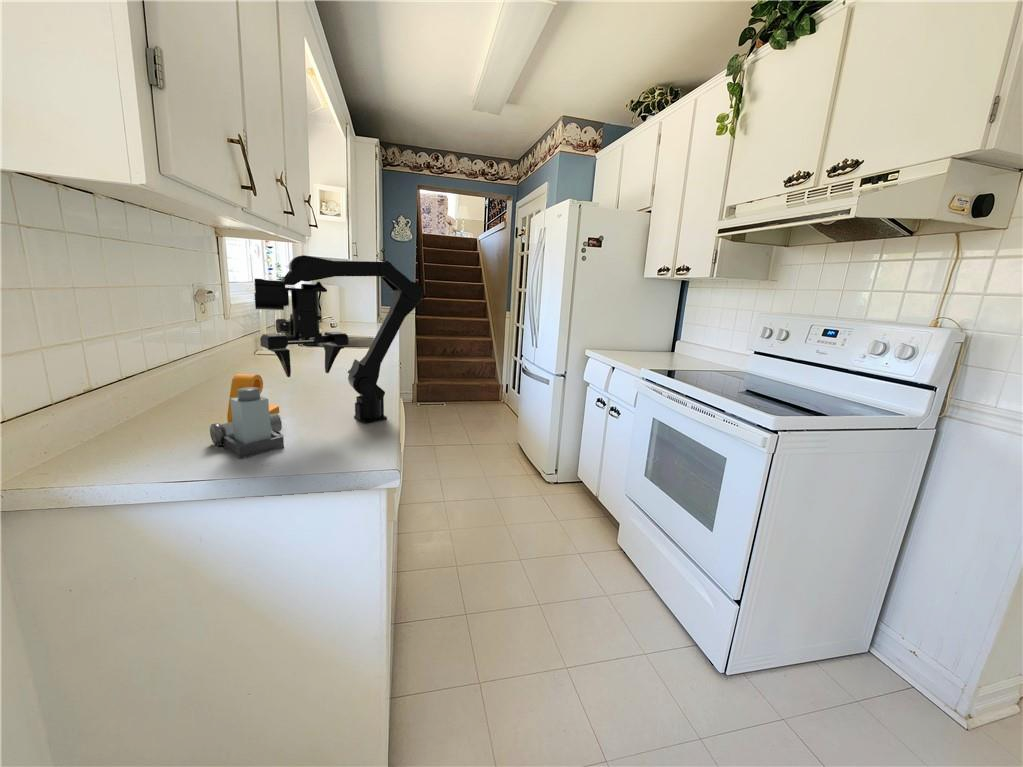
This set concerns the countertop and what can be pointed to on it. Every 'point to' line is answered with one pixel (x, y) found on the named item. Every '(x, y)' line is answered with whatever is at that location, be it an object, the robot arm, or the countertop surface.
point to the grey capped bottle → (250, 416)
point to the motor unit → (225, 437)
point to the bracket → (244, 382)
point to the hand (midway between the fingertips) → (308, 374)
